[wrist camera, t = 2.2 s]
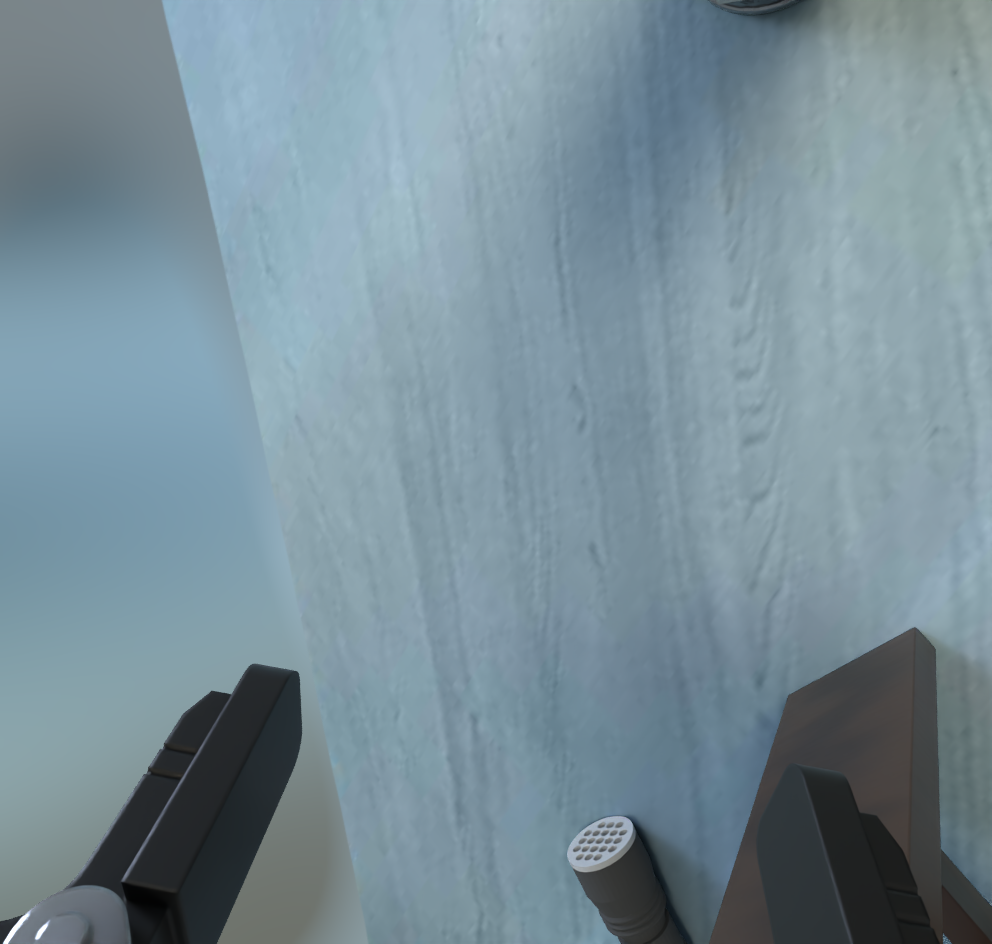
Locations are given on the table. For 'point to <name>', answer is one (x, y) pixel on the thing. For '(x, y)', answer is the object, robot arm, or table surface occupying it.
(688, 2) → the table surface
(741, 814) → the table surface
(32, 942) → the robot arm
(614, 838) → the flashlight
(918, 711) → the stool
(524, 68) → the table surface
